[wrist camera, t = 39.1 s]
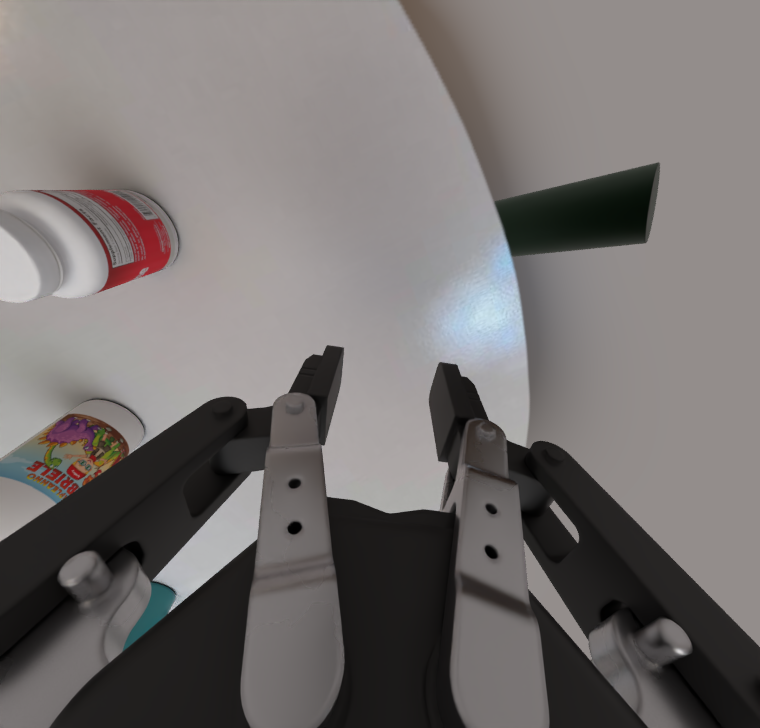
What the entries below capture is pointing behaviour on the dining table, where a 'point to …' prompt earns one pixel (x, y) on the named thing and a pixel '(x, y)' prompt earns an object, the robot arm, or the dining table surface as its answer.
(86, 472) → the milk bottle
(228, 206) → the dining table surface
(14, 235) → the pill bottle
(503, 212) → the bottle
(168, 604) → the cup
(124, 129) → the dining table surface
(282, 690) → the robot arm
